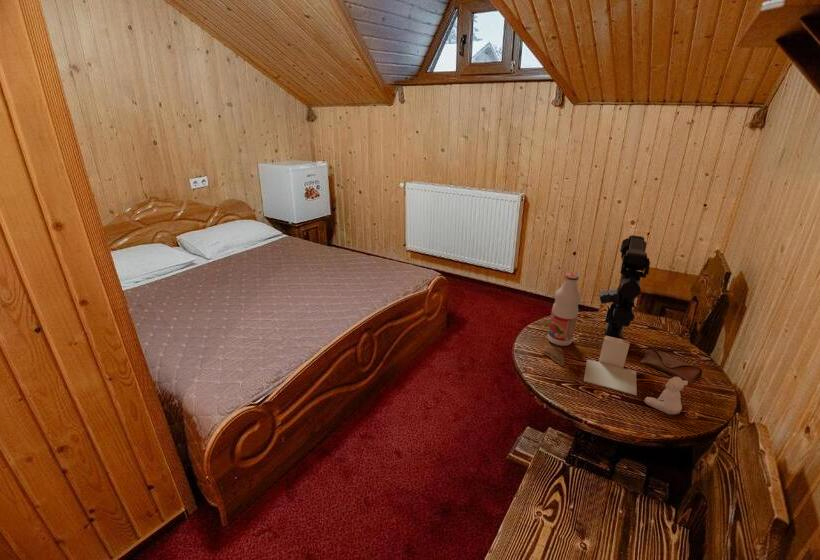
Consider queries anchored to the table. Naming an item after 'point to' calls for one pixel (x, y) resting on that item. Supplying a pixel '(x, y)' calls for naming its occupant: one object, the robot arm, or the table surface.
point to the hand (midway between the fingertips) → (618, 326)
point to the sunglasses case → (671, 366)
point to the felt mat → (611, 377)
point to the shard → (554, 354)
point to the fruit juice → (564, 312)
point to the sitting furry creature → (669, 397)
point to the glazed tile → (614, 351)
